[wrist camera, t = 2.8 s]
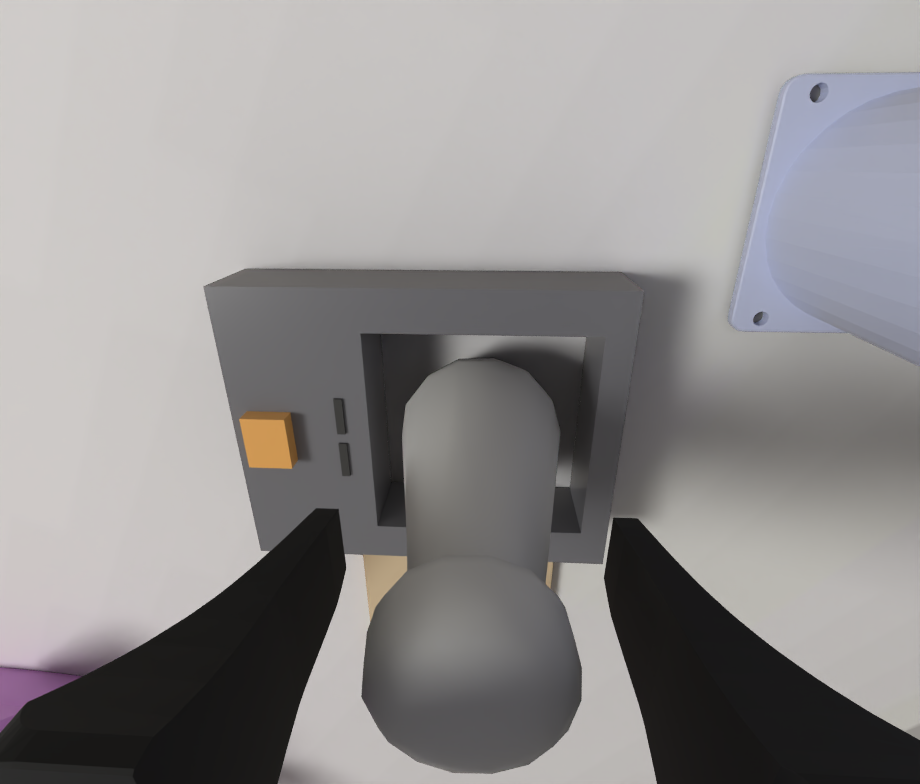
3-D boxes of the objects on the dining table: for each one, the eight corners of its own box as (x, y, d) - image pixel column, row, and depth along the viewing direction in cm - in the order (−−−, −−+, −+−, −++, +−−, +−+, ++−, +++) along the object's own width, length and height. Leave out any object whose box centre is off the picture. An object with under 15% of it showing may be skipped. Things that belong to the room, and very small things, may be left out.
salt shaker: (421, 325, 19) (314, 580, 7) (566, 351, 19) (685, 642, 8) (404, 452, 22) (303, 794, 10) (533, 474, 22) (583, 838, 10)
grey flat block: (621, 272, 18) (650, 295, 15) (588, 515, 23) (605, 575, 19) (245, 268, 19) (193, 290, 15) (287, 505, 23) (254, 561, 20)
